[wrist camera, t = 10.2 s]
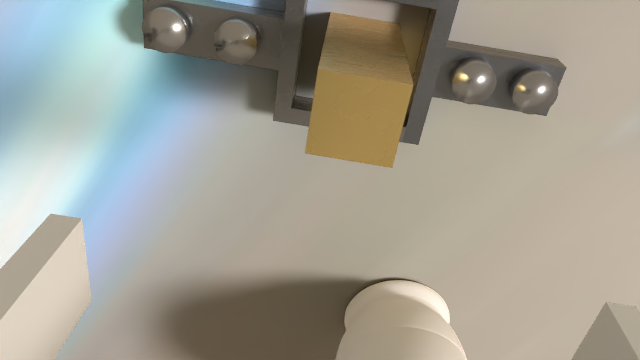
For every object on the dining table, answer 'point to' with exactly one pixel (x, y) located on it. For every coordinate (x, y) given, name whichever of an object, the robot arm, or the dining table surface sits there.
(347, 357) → the jar
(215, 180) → the dining table surface
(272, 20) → the knobbed square frame
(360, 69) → the gold rectangular block
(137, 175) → the dining table surface
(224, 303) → the dining table surface
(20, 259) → the robot arm
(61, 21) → the dining table surface
